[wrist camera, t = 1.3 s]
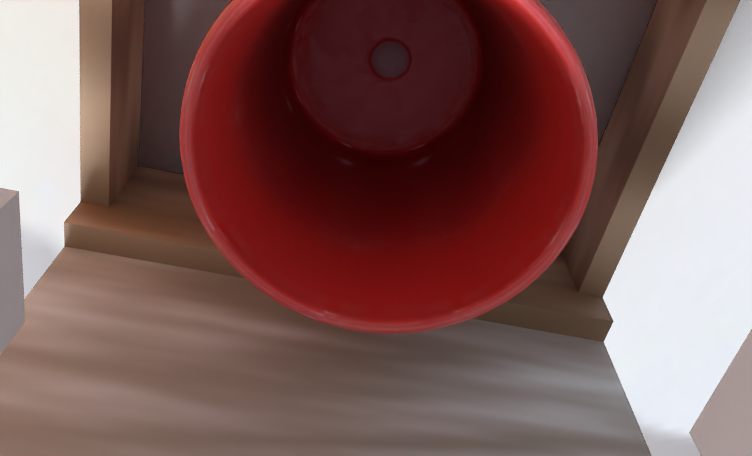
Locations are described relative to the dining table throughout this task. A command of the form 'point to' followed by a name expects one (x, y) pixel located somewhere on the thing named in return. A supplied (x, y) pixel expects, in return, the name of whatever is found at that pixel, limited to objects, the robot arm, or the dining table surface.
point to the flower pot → (388, 153)
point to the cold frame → (310, 337)
